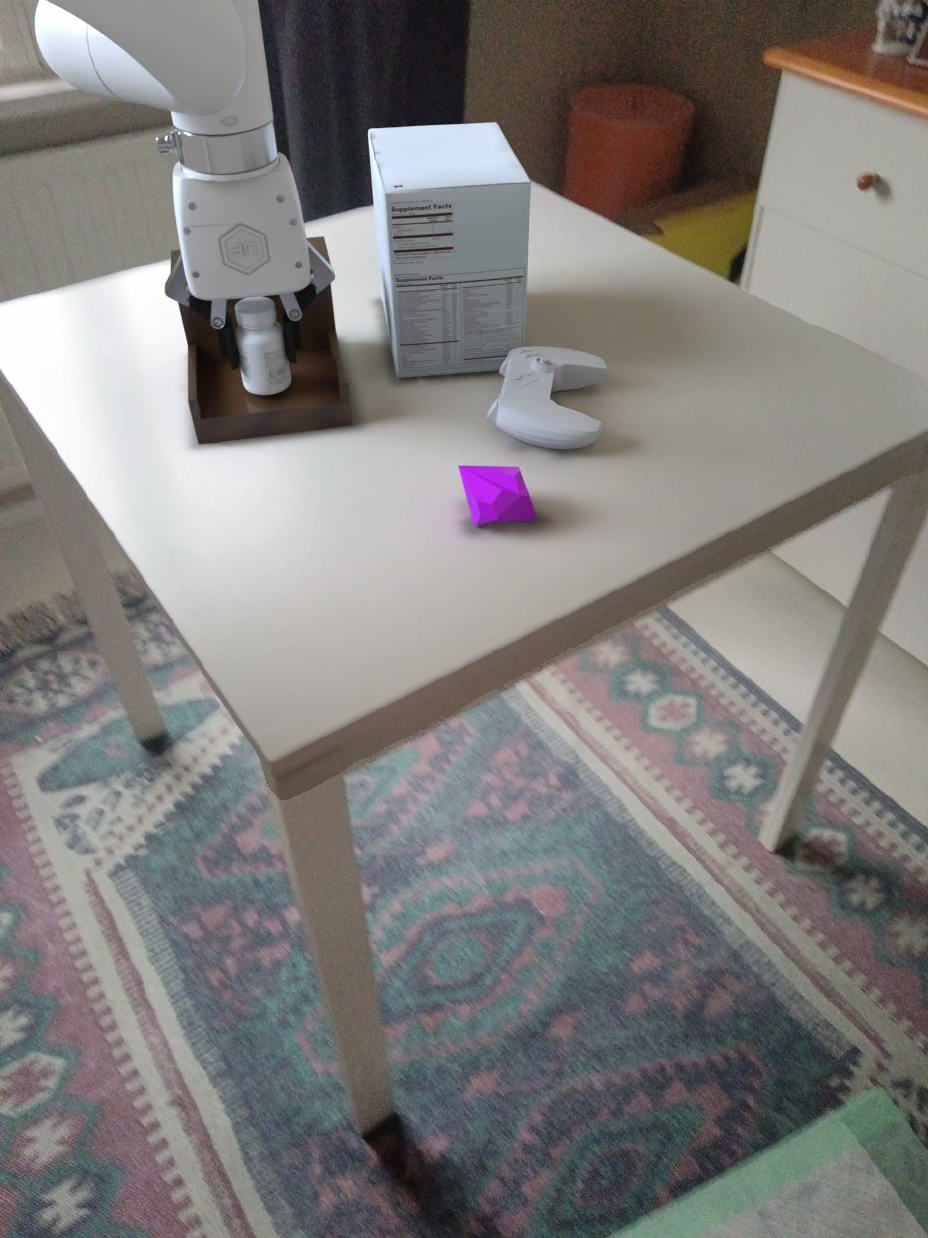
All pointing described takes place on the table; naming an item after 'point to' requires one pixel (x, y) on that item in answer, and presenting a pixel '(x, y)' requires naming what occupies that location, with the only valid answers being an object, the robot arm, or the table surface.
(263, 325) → the pill bottle
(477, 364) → the supplement box
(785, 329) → the table surface
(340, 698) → the table surface
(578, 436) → the game controller
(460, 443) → the table surface
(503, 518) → the crystal
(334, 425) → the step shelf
